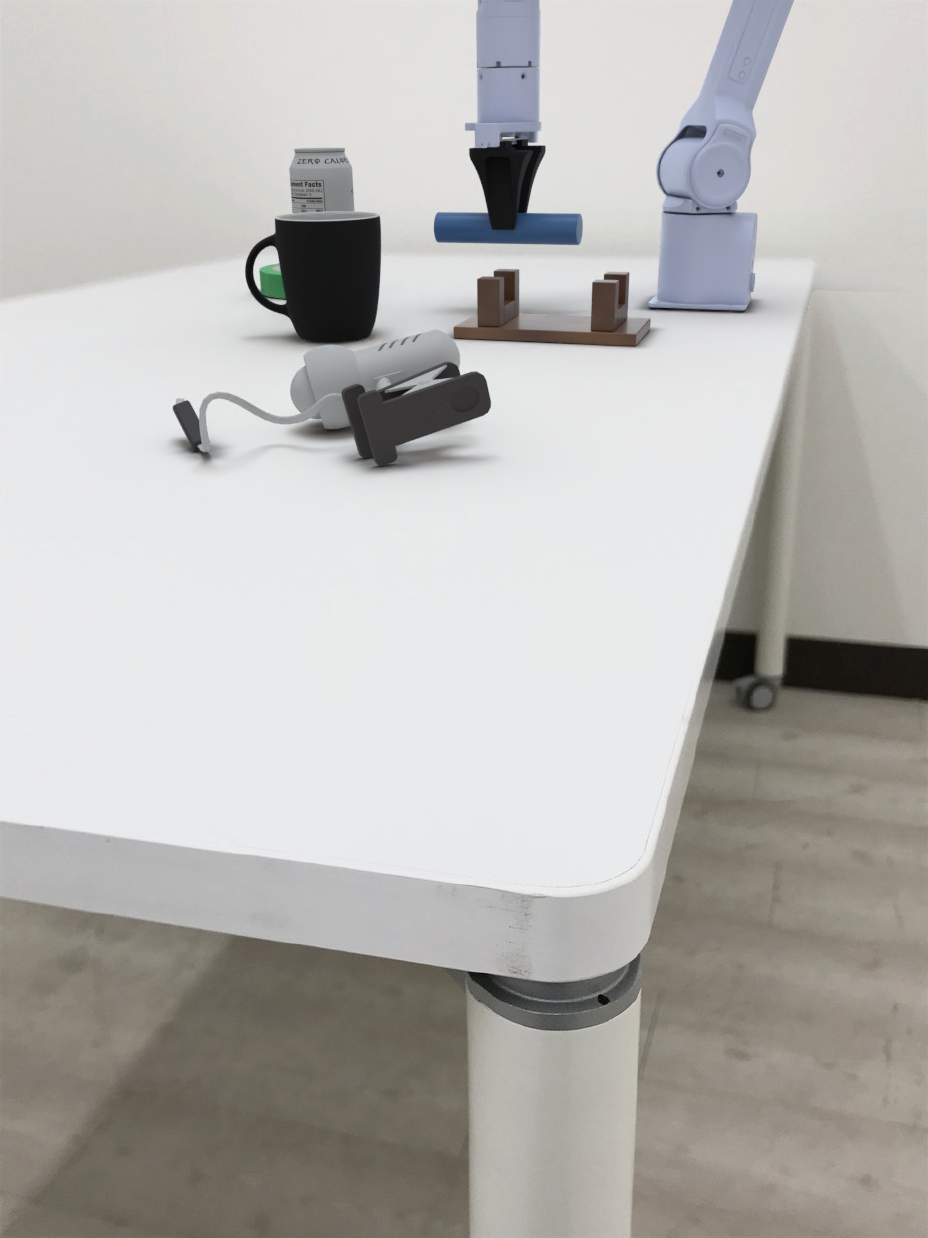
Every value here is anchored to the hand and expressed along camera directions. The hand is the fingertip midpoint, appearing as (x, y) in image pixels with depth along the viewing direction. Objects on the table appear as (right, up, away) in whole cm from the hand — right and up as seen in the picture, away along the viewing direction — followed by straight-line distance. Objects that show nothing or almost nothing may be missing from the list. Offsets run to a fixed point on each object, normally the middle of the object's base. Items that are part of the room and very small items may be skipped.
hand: (508, 227), depth 105 cm
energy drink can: (-18, -6, +6) cm, 20 cm away
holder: (+4, -12, -7) cm, 15 cm away
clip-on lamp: (-12, -27, -39) cm, 49 cm away
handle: (0, -1, +1) cm, 1 cm away
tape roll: (-21, -1, +18) cm, 28 cm away
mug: (-17, -12, -7) cm, 22 cm away
